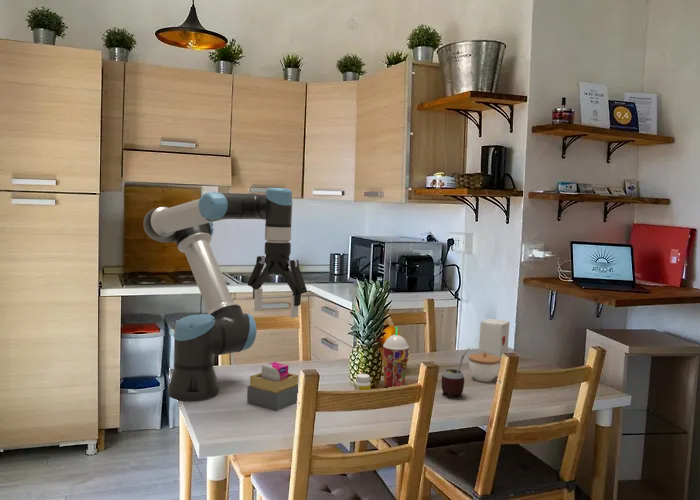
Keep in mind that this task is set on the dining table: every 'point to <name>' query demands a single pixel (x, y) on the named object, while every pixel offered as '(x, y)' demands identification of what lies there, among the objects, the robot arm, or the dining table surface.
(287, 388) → the box
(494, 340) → the supplement box
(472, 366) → the lidded jar
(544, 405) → the dining table surface
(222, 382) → the dining table surface
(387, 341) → the smoothie
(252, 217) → the robot arm
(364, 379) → the supplement bottle
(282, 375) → the supplement box
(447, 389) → the mate gourd
